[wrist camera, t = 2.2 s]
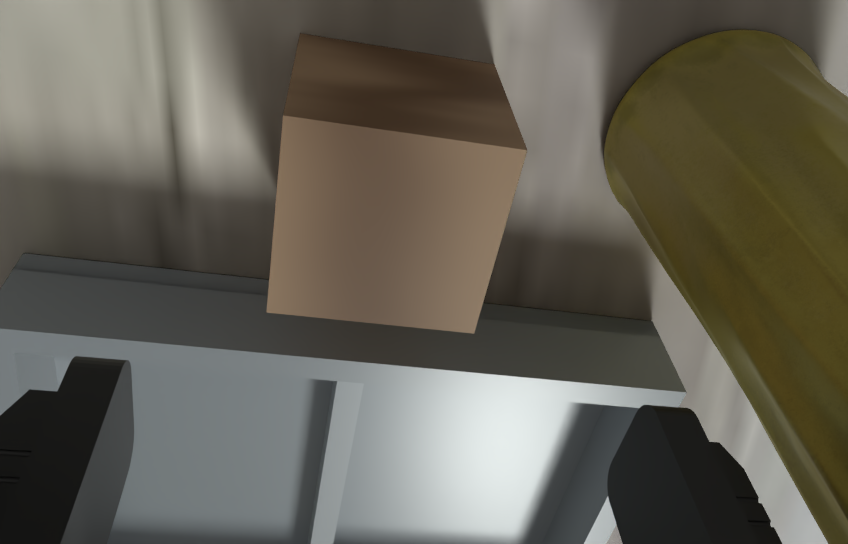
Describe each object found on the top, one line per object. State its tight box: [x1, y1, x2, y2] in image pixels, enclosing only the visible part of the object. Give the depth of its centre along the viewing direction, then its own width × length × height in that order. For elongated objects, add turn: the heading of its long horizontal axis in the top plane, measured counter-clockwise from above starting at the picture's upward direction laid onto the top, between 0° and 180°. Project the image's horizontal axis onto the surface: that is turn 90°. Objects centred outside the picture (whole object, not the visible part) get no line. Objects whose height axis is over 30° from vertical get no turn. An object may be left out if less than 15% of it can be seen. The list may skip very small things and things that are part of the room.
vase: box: [604, 30, 848, 544], centre depth 15 cm, size 6×6×14 cm
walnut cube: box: [266, 33, 527, 334], centre depth 19 cm, size 5×5×5 cm
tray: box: [0, 253, 687, 544], centre depth 26 cm, size 20×15×3 cm
